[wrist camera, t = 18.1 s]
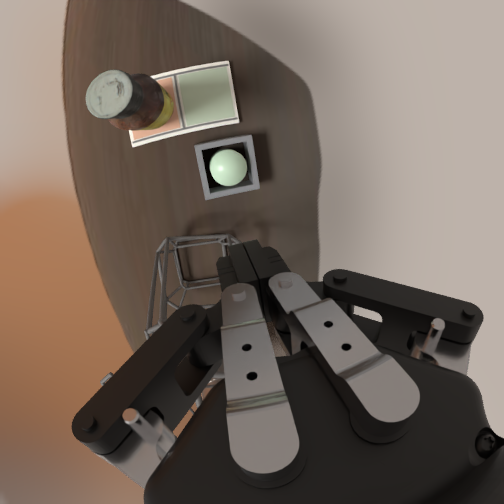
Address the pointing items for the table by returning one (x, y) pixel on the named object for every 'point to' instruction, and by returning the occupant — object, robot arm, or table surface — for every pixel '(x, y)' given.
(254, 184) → the button housing
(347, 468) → the robot arm
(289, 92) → the table surface
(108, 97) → the sauce bottle
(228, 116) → the colouring card
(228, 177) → the button
